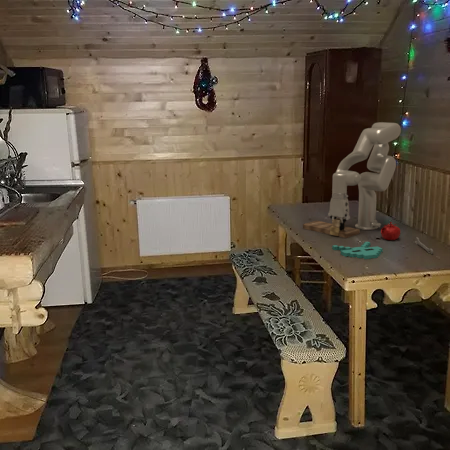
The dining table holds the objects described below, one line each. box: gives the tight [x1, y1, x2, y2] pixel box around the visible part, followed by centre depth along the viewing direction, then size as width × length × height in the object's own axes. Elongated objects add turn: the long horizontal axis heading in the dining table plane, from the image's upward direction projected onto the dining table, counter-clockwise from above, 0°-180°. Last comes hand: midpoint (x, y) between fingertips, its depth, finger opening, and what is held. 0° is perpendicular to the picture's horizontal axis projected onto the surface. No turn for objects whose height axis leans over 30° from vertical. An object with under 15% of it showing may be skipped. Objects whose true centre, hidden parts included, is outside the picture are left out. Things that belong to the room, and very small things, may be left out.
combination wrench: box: [415, 236, 434, 255], centre depth 257 cm, size 4×1×20 cm
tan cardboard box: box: [329, 217, 345, 237], centre depth 284 cm, size 5×7×8 cm
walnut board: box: [302, 220, 361, 239], centre depth 293 cm, size 30×12×3 cm, turn 41°
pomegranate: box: [380, 221, 401, 241], centre depth 275 cm, size 10×10×9 cm
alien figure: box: [331, 241, 384, 260], centre depth 254 cm, size 20×2×20 cm
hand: (338, 228), depth 284 cm, fingers closed on tan cardboard box, 4 cm apart
